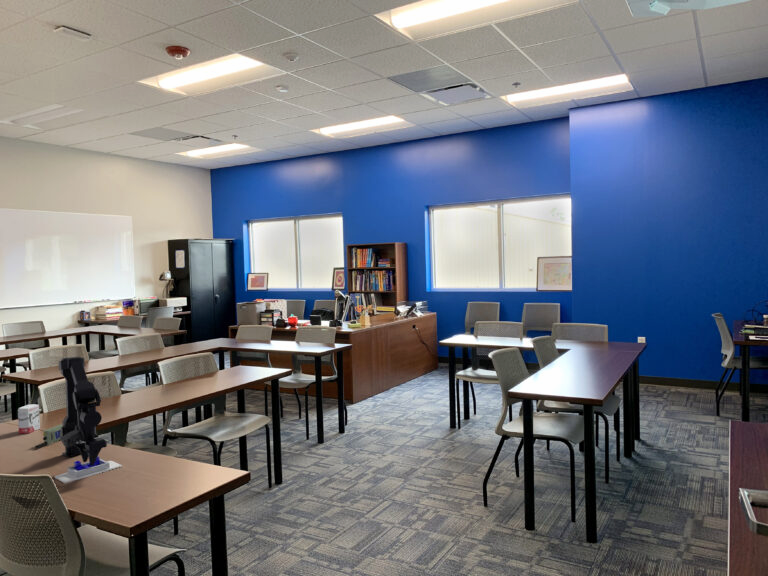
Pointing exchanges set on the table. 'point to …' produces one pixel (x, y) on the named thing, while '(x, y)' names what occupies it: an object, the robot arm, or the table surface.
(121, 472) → the table surface
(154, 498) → the table surface
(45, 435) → the handheld radio
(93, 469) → the desk organizer
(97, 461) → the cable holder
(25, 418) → the ink box
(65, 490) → the table surface
